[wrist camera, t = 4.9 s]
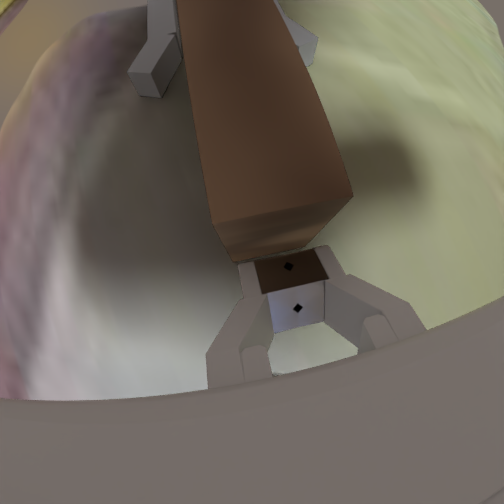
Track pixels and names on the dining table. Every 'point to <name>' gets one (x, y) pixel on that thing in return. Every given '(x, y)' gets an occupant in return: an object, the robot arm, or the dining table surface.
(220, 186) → the walnut plank
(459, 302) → the dining table surface
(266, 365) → the robot arm
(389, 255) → the dining table surface
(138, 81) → the grey channel
